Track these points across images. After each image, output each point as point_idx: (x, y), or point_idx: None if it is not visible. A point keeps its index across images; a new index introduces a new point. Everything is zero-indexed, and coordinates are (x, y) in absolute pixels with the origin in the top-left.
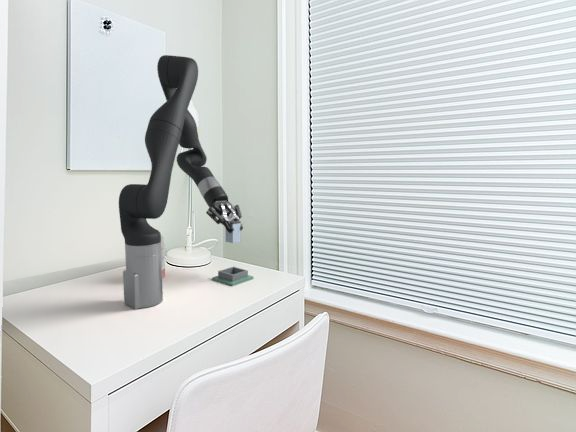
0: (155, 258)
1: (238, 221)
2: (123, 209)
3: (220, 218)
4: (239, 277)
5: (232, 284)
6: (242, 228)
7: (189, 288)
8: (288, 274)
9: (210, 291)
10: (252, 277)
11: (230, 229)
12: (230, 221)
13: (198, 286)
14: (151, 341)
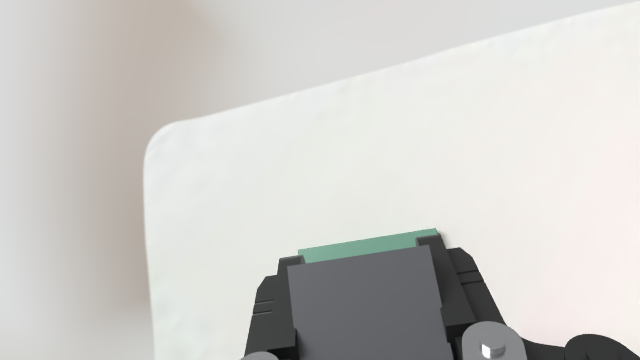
0: None
1: (311, 279)
2: None
3: (623, 354)
4: None
5: (435, 228)
6: (288, 259)
7: (626, 338)
8: (146, 198)
9: (551, 236)
10: (305, 249)
11: (453, 253)
12: (402, 349)
13: (574, 334)
14: None
